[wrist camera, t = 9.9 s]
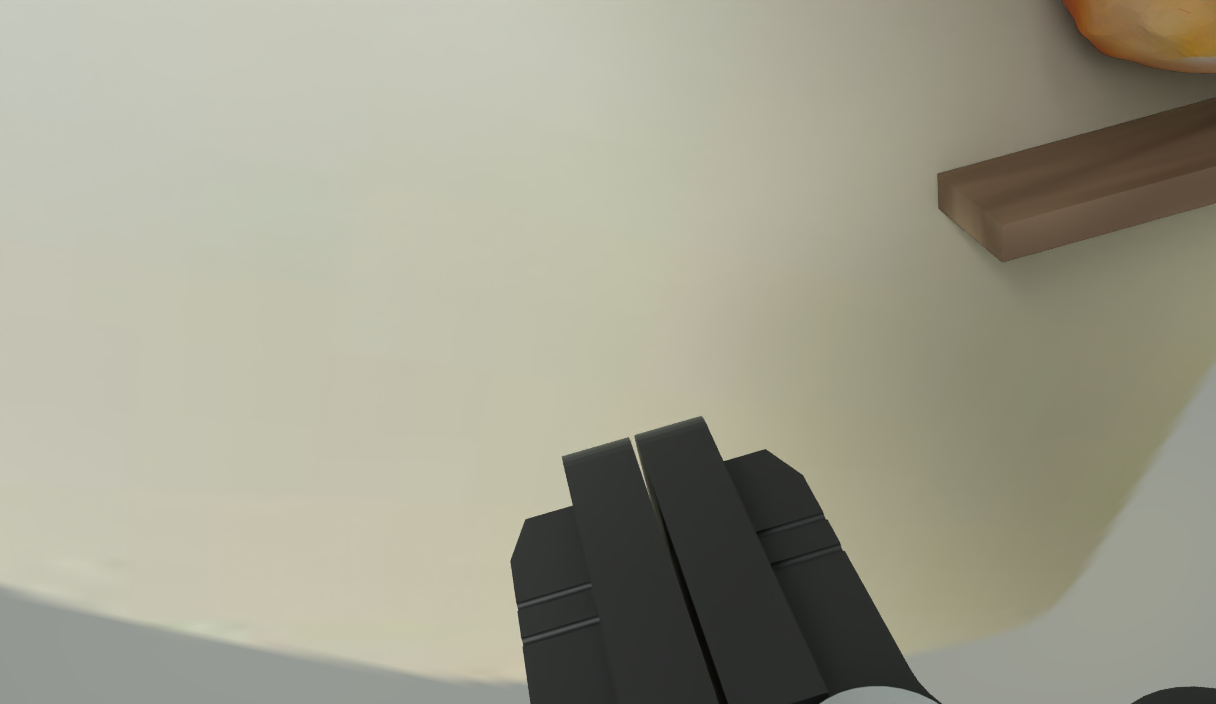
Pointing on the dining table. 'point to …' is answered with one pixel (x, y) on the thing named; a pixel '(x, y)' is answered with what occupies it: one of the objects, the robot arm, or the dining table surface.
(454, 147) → the dining table surface
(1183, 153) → the brown wooden u-shaped frame
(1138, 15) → the fruit
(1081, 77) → the dining table surface
